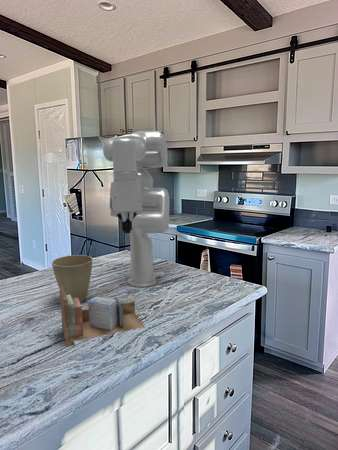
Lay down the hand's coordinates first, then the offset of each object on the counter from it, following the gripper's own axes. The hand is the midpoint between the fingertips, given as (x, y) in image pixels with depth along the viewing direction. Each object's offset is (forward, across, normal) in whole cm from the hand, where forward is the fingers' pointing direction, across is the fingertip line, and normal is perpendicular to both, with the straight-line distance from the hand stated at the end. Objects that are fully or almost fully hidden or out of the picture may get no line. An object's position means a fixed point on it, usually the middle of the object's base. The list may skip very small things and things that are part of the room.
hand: (127, 232), depth 119 cm
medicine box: (+28, +11, +8) cm, 31 cm away
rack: (+29, +11, +8) cm, 32 cm away
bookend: (+28, +6, +8) cm, 29 cm away
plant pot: (+29, +16, -20) cm, 39 cm away
